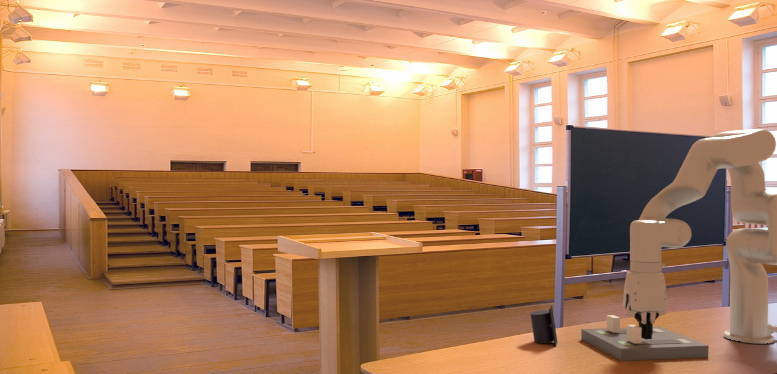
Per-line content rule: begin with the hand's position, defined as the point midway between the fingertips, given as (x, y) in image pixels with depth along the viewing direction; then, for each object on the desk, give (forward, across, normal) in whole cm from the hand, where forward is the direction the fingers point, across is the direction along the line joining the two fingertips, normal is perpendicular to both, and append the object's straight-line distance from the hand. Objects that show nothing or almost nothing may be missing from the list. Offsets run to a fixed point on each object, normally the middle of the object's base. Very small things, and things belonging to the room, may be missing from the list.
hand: (645, 338), depth 166 cm
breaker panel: (+4, -2, -6) cm, 8 cm away
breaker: (+1, +3, -12) cm, 12 cm away
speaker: (+4, +22, -15) cm, 27 cm away
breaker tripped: (+1, +3, 0) cm, 3 cm away
